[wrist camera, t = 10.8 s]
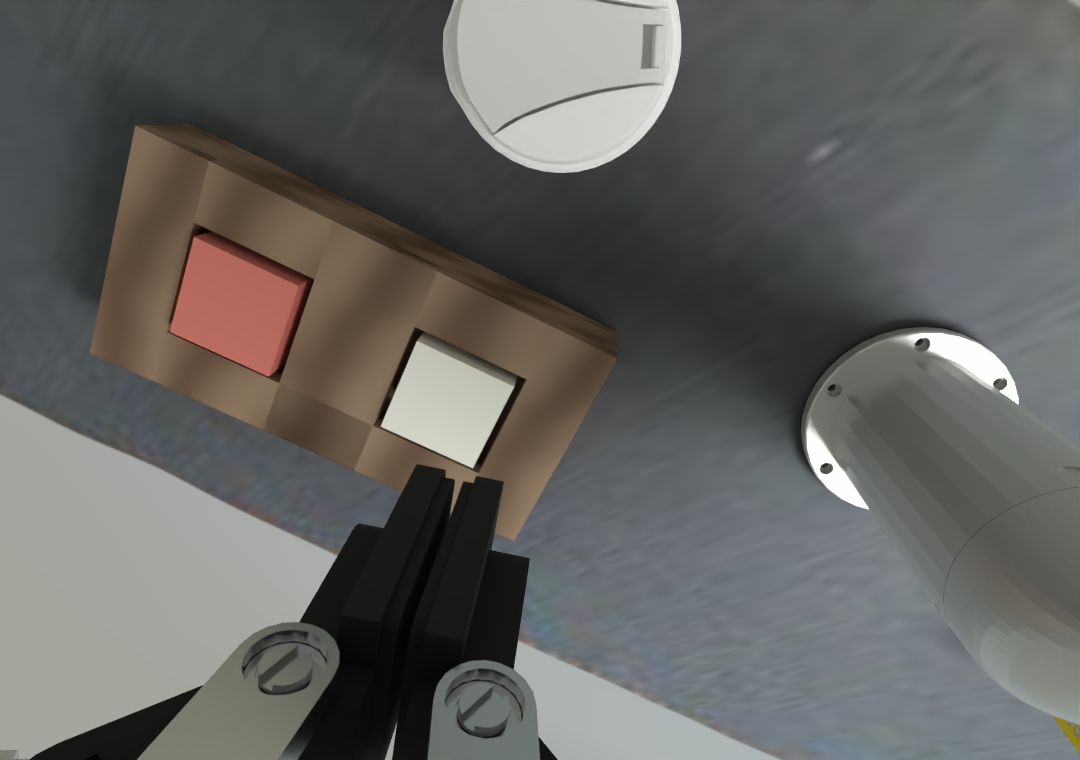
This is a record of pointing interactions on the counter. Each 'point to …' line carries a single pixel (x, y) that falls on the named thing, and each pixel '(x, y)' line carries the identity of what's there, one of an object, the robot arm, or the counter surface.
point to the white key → (448, 399)
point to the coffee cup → (562, 75)
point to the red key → (240, 303)
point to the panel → (340, 319)
